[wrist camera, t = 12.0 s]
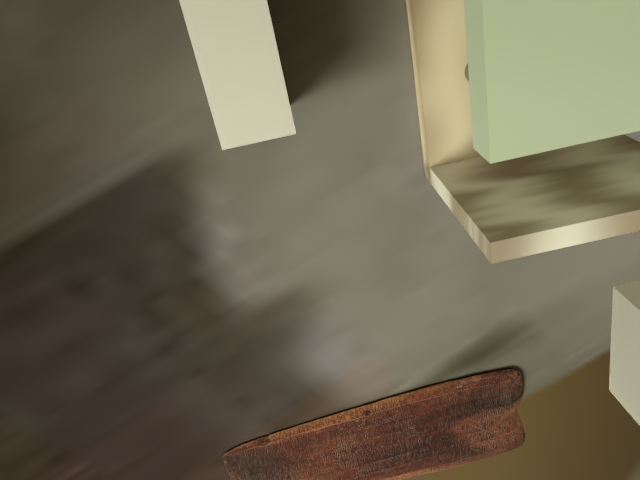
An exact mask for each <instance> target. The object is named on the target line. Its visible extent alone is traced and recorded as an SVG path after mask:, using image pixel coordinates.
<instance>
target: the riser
mask: <svg viewBox="0 0 640 480" xmlns="http://www.w3.org/2000/svg"><path fill="white" fill-rule="evenodd" d="M179 1H180V4H181V8H182V11H183V15H184V18H185V22H186V25H187V29H188V32H189V36H190V39H191V43H192V46H193V50H194V53H195V57H196V60H197V64H198V67H199V71H200V74H201V78H202V81H203V85H204V88H205V92H206V95H207V99H208V102H209V106H210V109H211V113H212V116H213V119H214V123H215V126H216V130H217V133H218V137H219V140H220V144H221V147H222V150H225V149H229V148H234V147H239V146H243V145H248V144H252V143H257V142H261V141H266V140H270V139H275V138H279V137H284V136H288V135H293V134H296V131H295V126H294V122H293V117H292V113H291V108H290V104H289V99H288V94H287V90H286V85H285V81H284V76H283V71H282V67H281V62H280V58H279V53H278V48H277V44H276V39H275V35H274V30H273V26H272V21H271V16H270V12H269V7H268V3H267V0H179Z"/></svg>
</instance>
